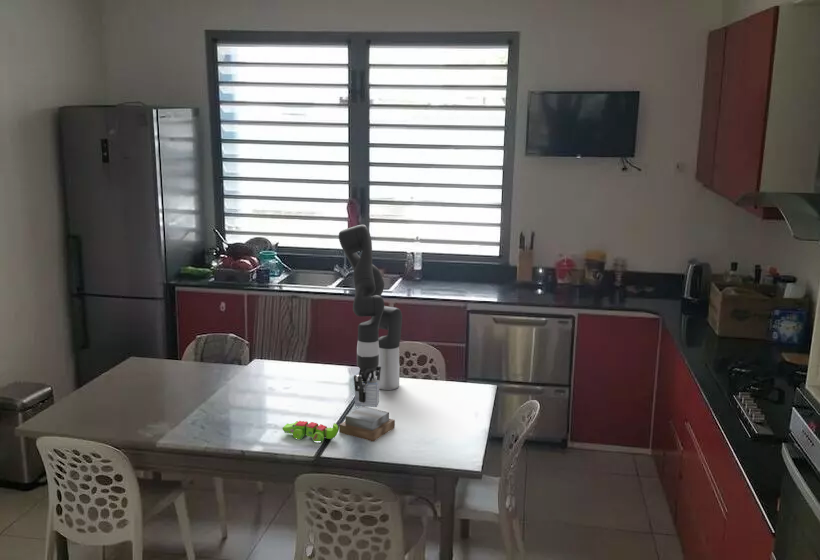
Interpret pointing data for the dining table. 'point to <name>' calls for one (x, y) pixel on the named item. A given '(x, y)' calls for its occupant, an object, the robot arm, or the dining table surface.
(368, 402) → the medicine box
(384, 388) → the robot arm
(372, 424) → the brown gray stepped block
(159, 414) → the dining table surface
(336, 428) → the toy crocodile
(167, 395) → the dining table surface
